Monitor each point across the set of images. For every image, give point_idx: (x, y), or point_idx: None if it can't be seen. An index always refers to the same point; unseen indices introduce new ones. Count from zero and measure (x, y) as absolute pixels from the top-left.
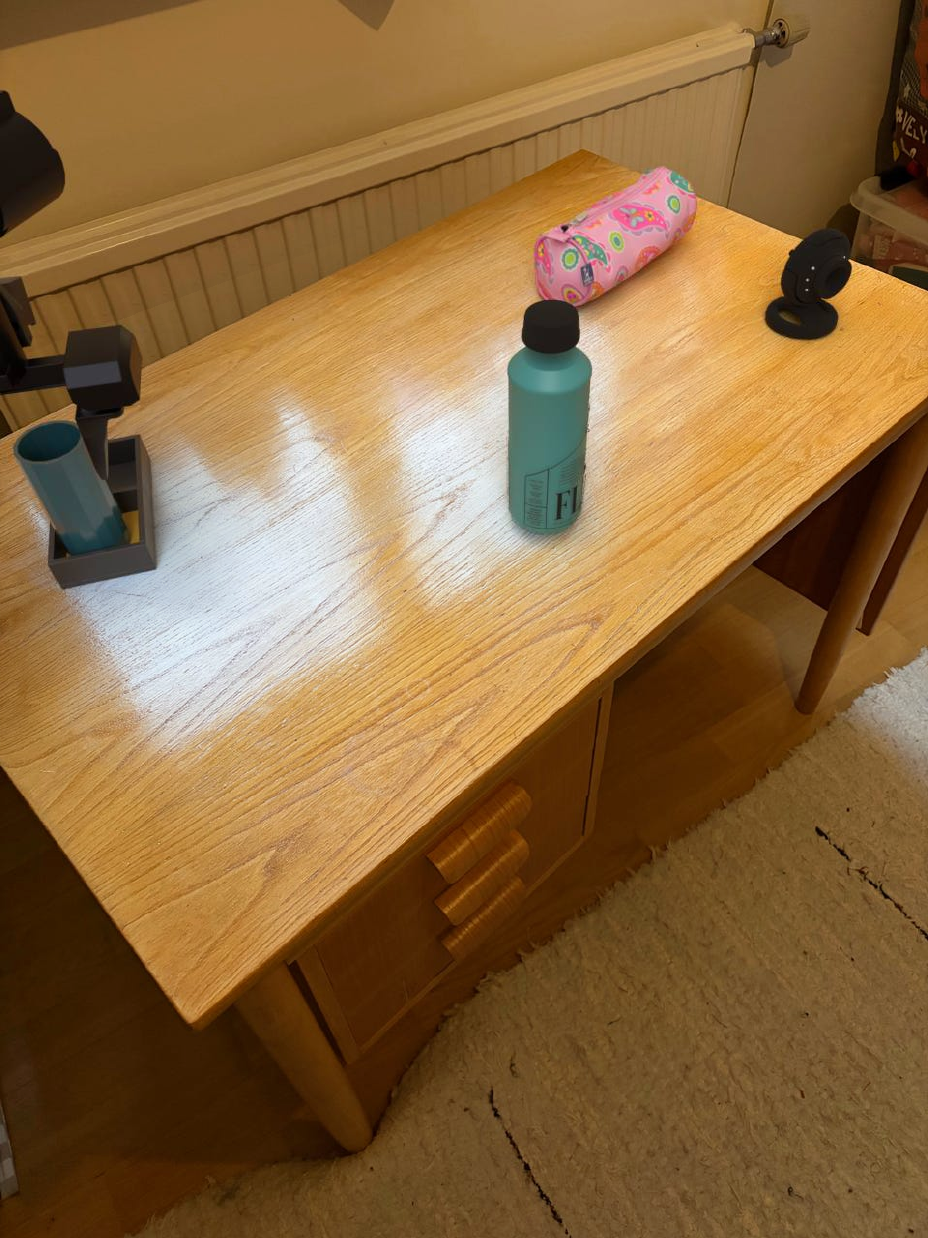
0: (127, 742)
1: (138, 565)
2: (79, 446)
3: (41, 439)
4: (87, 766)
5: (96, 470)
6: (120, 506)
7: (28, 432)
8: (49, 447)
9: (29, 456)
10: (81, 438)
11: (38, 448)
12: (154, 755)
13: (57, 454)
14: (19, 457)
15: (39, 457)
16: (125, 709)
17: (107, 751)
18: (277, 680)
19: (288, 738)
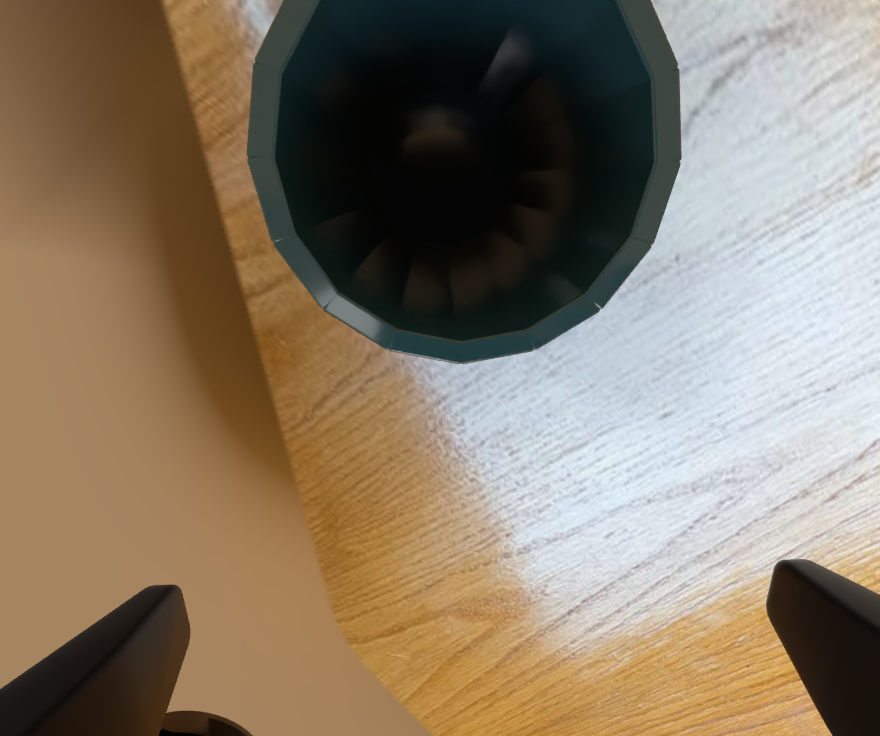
0: (510, 633)
1: None
2: (642, 251)
3: (369, 3)
4: (453, 657)
5: (823, 715)
6: None
7: (314, 11)
8: (390, 9)
9: (309, 109)
10: (658, 175)
11: (343, 36)
12: (549, 657)
13: (412, 20)
14: (312, 275)
15: (341, 68)
16: (506, 584)
17: (481, 641)
18: (750, 576)
19: (738, 662)
